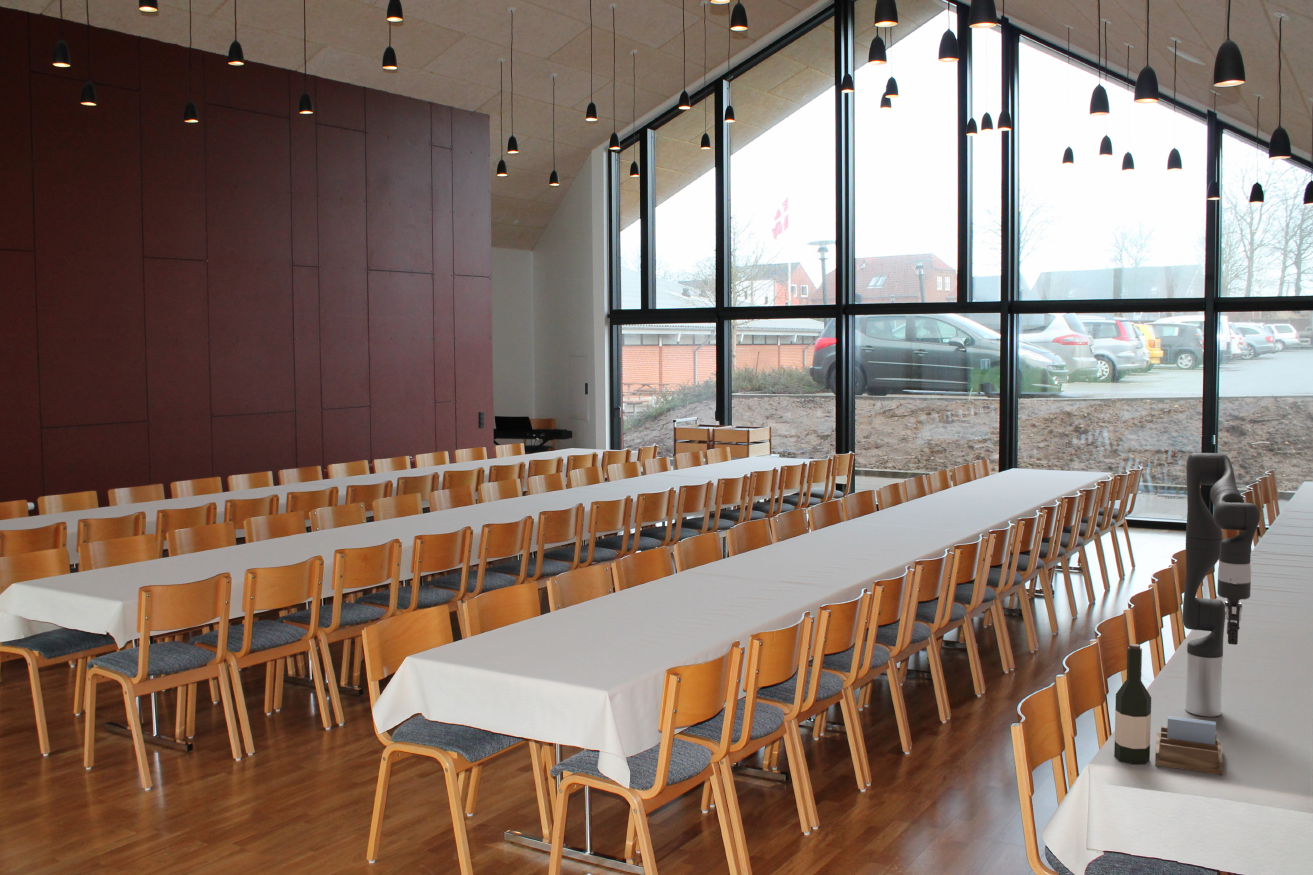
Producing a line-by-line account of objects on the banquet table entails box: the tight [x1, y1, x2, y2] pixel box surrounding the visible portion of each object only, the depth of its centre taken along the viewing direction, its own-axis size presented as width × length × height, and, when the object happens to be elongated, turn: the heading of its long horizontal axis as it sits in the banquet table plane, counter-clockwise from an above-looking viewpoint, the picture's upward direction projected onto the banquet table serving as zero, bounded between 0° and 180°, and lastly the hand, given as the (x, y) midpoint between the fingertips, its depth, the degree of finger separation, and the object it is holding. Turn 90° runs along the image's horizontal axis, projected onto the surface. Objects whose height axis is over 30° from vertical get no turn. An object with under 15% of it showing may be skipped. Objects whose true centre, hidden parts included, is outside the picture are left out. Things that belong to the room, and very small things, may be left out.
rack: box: [1154, 726, 1223, 776], centre depth 270 cm, size 16×15×5 cm
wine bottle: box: [1113, 643, 1152, 766], centre depth 270 cm, size 8×8×30 cm
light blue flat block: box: [1166, 715, 1217, 745], centre depth 270 cm, size 2×11×9 cm, turn 63°
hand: (1232, 639), depth 274 cm, fingers open, 8 cm apart
